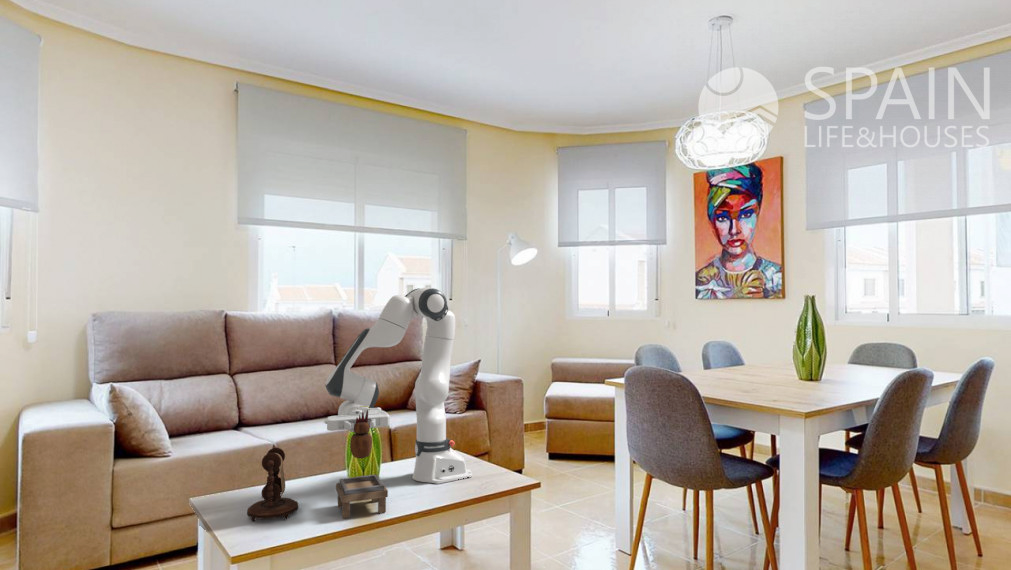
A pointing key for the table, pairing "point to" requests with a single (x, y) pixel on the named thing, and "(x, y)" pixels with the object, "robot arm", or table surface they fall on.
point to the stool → (361, 492)
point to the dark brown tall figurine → (273, 490)
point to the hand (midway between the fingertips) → (362, 426)
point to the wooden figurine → (361, 438)
